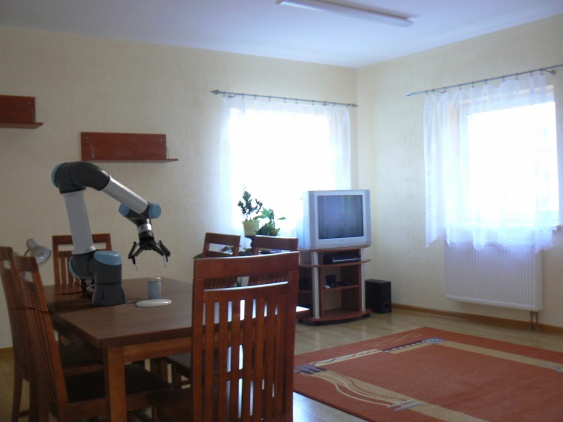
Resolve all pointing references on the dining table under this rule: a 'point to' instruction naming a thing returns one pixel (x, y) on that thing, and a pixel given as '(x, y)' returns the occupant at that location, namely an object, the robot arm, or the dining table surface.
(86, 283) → the coffee mug
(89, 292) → the dish
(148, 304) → the plate
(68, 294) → the dining table surface
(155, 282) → the jar
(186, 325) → the dining table surface
